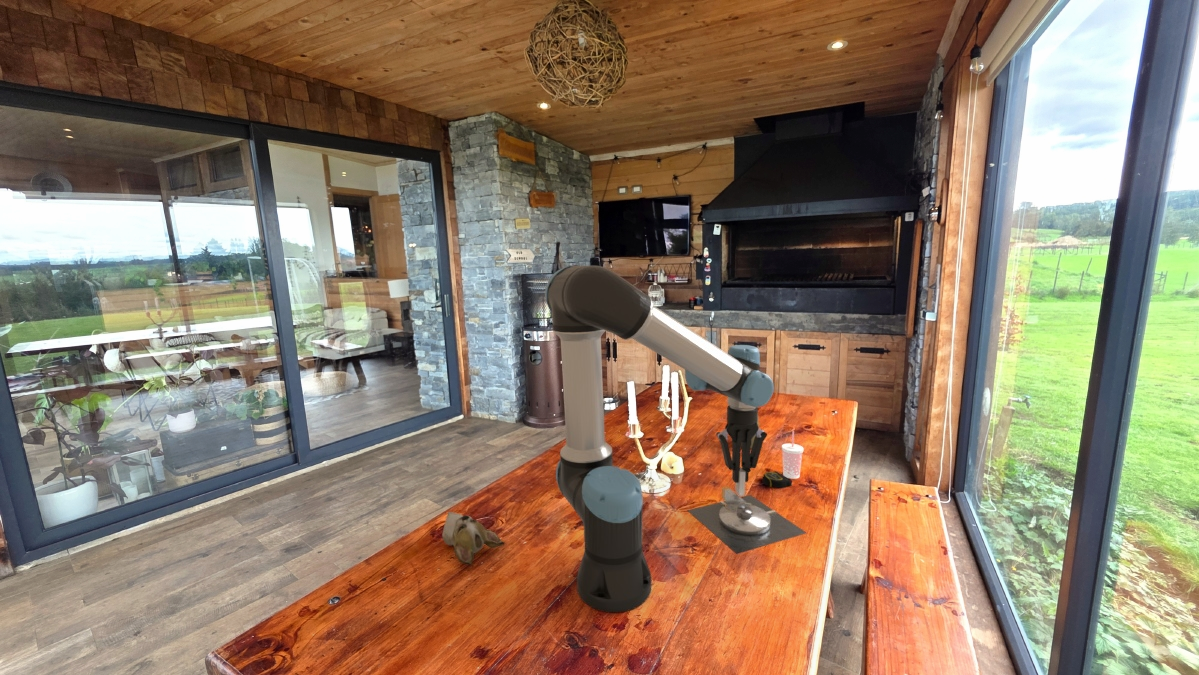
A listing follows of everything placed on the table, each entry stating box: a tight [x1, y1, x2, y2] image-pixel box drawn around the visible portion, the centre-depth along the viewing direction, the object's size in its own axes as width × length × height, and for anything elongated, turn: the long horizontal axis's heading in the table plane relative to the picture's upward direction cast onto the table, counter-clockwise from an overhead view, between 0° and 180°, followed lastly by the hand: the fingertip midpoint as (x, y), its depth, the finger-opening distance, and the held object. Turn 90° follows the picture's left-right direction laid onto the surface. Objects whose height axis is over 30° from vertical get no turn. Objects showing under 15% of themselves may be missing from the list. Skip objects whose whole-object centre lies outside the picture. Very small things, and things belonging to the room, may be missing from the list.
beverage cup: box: [781, 430, 804, 480], centre depth 143 cm, size 6×6×14 cm
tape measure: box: [761, 470, 793, 489], centre depth 136 cm, size 7×7×4 cm
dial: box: [719, 486, 770, 535], centre depth 118 cm, size 16×12×4 cm
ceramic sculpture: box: [441, 511, 506, 566], centre depth 110 cm, size 11×9×15 cm
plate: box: [687, 494, 807, 555], centre depth 117 cm, size 20×20×2 cm
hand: (739, 493), depth 124 cm, fingers closed
